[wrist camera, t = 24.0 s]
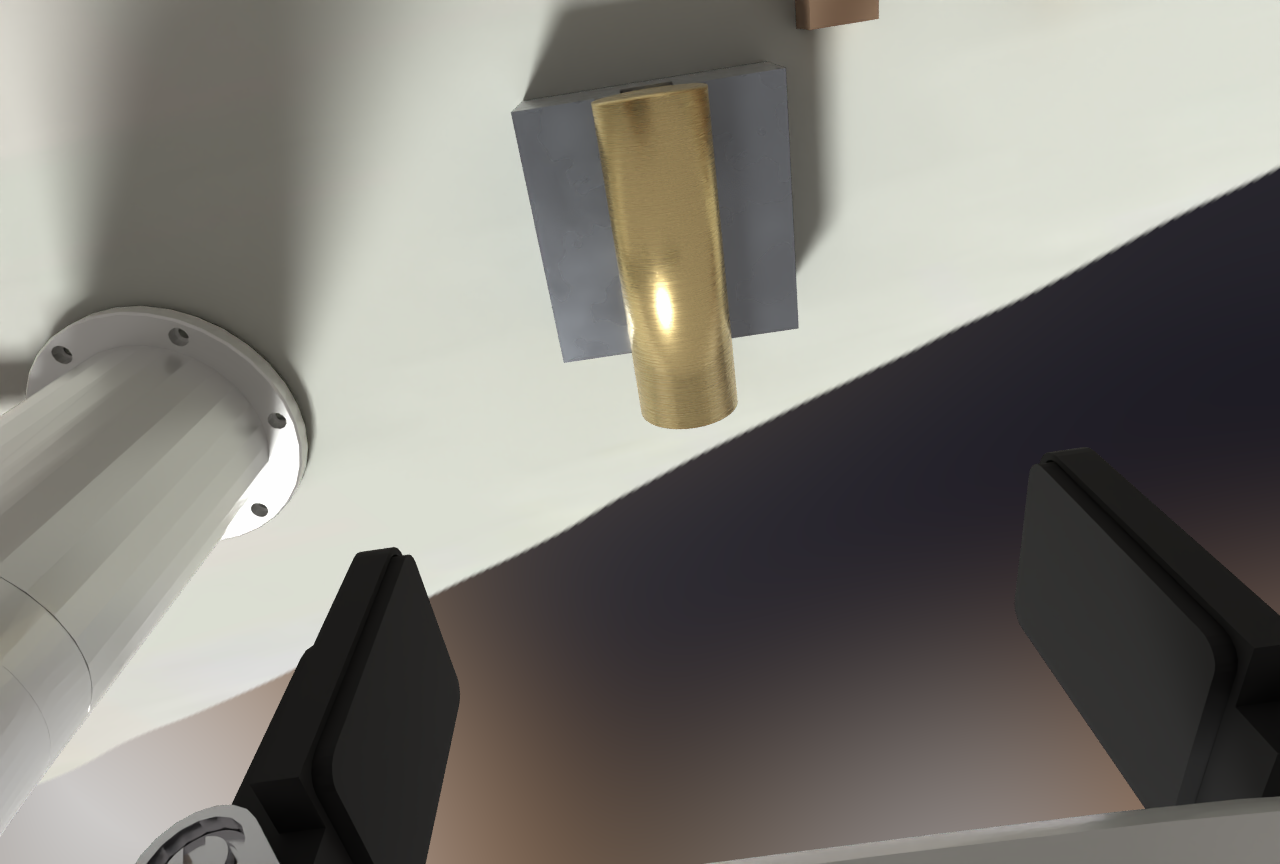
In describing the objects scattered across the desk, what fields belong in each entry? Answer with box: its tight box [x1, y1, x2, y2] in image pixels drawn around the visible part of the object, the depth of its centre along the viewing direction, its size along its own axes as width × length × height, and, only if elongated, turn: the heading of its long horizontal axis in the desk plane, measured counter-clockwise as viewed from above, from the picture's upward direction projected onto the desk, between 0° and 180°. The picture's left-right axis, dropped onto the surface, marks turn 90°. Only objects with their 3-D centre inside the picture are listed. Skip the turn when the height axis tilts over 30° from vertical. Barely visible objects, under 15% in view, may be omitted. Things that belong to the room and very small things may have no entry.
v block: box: [511, 61, 798, 363], centre depth 32 cm, size 10×10×4 cm
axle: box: [591, 83, 738, 429], centre depth 29 cm, size 12×4×4 cm, turn 8°
